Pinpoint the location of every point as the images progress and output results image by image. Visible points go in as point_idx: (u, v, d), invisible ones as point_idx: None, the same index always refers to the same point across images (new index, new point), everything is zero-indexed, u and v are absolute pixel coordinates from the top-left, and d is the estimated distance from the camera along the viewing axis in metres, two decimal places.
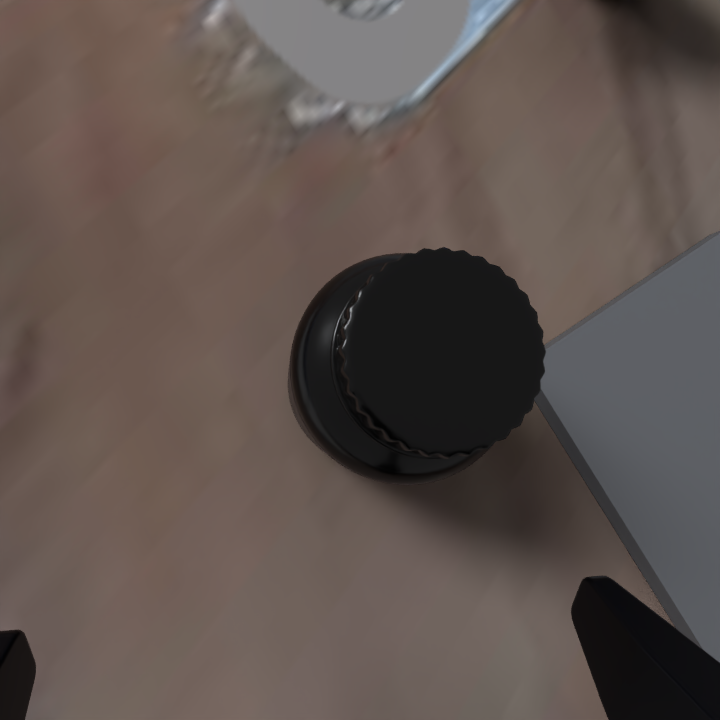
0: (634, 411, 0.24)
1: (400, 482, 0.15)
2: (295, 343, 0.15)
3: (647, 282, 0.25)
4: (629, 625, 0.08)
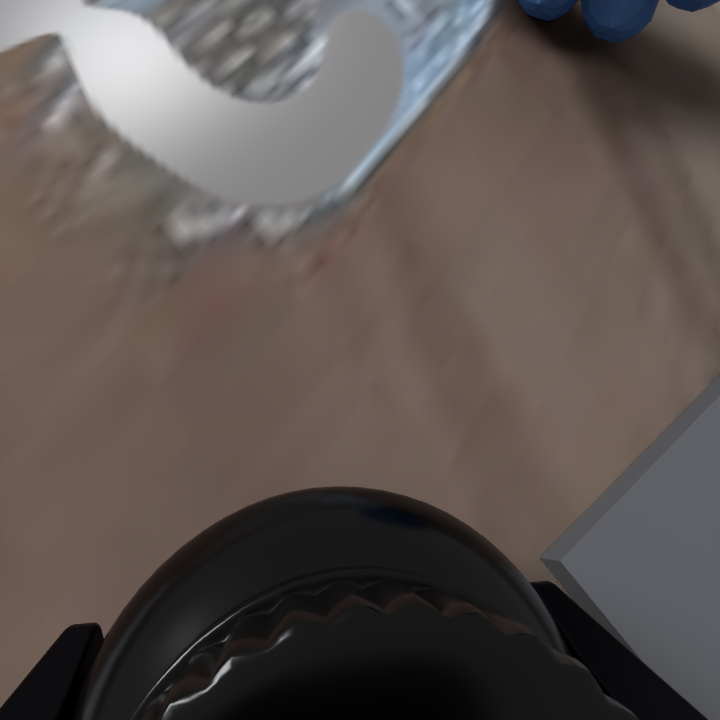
0: None
1: None
2: None
3: (712, 404, 0.17)
4: (565, 632, 0.08)
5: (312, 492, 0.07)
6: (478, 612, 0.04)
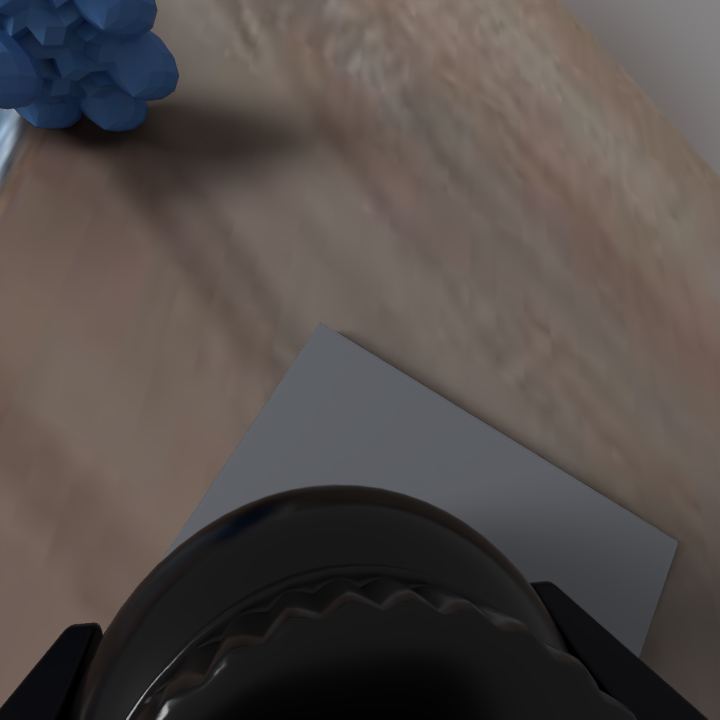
0: None
1: None
2: None
3: (247, 432, 0.21)
4: (565, 632, 0.08)
5: (310, 490, 0.07)
6: (475, 608, 0.04)
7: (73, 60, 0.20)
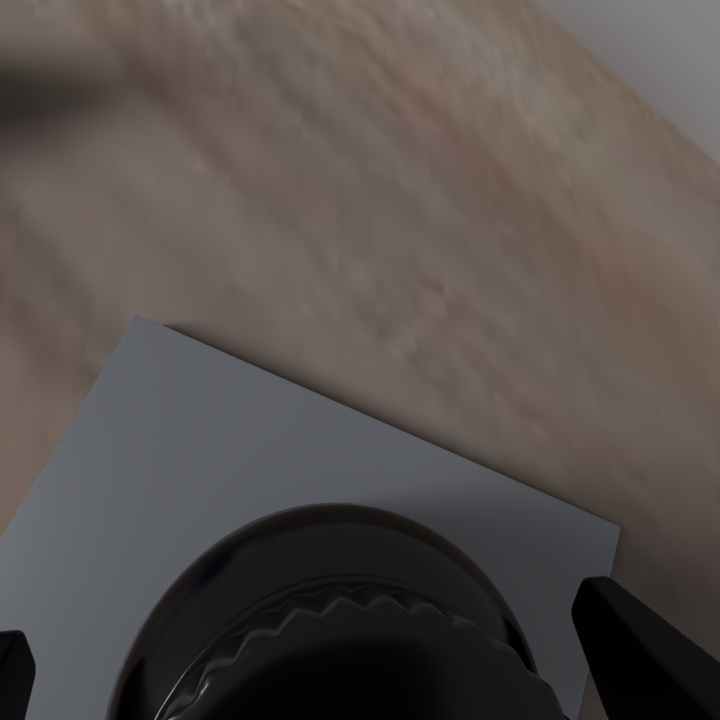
0: (110, 674, 0.15)
1: None
2: None
3: (42, 470, 0.16)
4: (629, 625, 0.08)
5: (312, 508, 0.09)
6: (435, 610, 0.05)
7: None
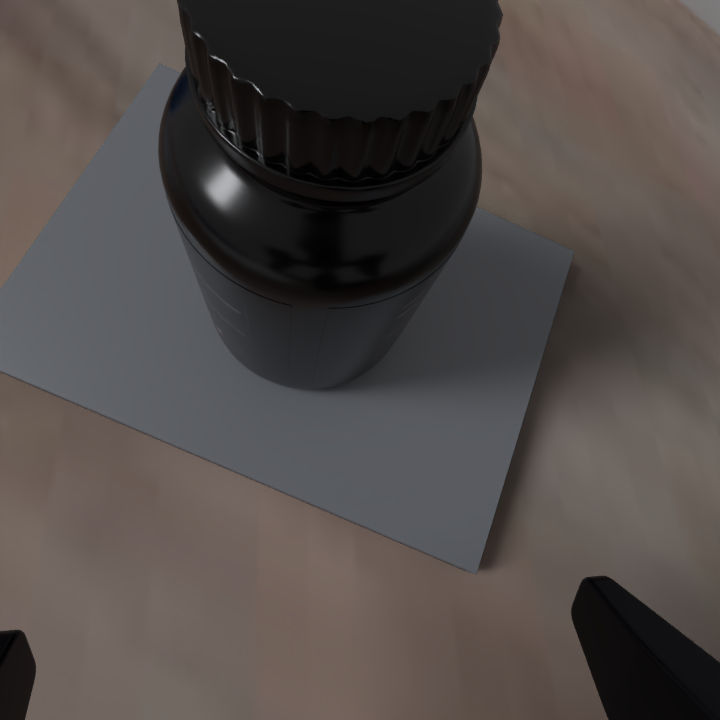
0: (144, 321, 0.18)
1: (327, 290, 0.10)
2: (161, 120, 0.10)
3: (84, 172, 0.19)
4: (629, 625, 0.08)
5: None
6: None
7: None
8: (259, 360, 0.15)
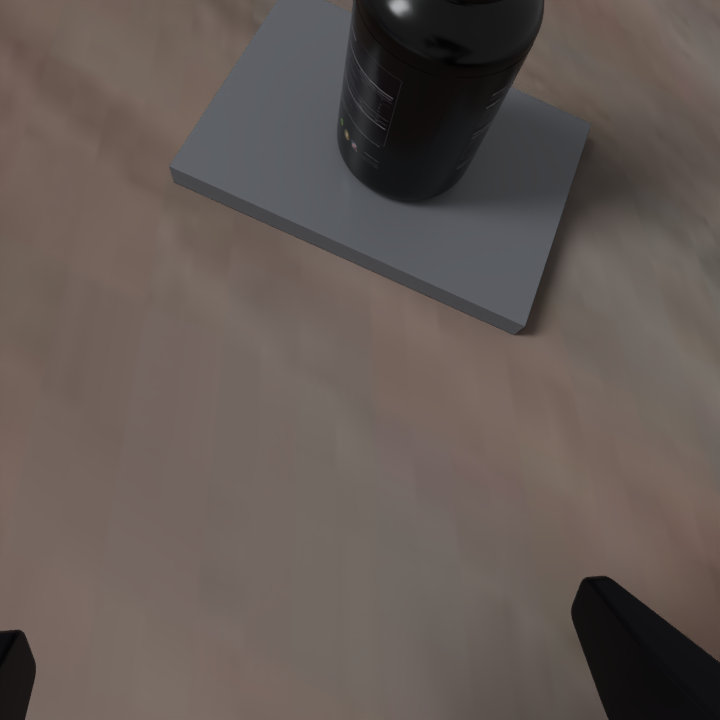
0: (291, 154, 0.25)
1: (461, 58, 0.17)
2: None
3: (242, 55, 0.27)
4: (629, 625, 0.08)
5: None
6: None
7: None
8: (384, 160, 0.23)
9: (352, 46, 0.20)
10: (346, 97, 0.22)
